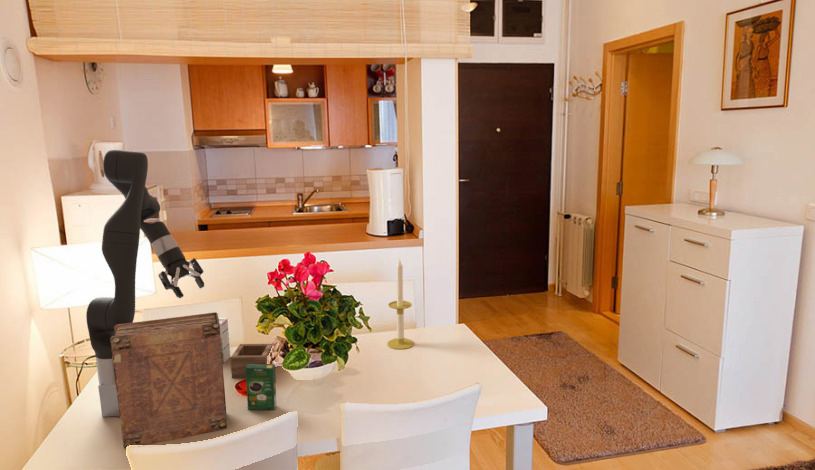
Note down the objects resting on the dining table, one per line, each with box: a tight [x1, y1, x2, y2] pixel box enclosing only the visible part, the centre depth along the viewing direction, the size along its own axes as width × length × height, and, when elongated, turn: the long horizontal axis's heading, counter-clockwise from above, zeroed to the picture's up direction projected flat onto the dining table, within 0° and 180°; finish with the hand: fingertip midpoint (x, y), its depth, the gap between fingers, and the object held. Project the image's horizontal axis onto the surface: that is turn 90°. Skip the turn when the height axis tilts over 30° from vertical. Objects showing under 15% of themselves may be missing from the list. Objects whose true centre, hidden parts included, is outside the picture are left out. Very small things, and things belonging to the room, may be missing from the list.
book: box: [110, 312, 228, 450], centre depth 144 cm, size 25×9×30 cm, turn 112°
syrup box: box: [218, 317, 232, 364], centre depth 190 cm, size 6×6×14 cm
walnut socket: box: [230, 343, 273, 379], centre depth 182 cm, size 11×11×7 cm
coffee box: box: [245, 363, 277, 411], centre depth 157 cm, size 8×3×13 cm, turn 89°
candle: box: [386, 258, 415, 350], centre depth 200 cm, size 10×10×32 cm
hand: (192, 292), depth 187 cm, fingers open, 8 cm apart
